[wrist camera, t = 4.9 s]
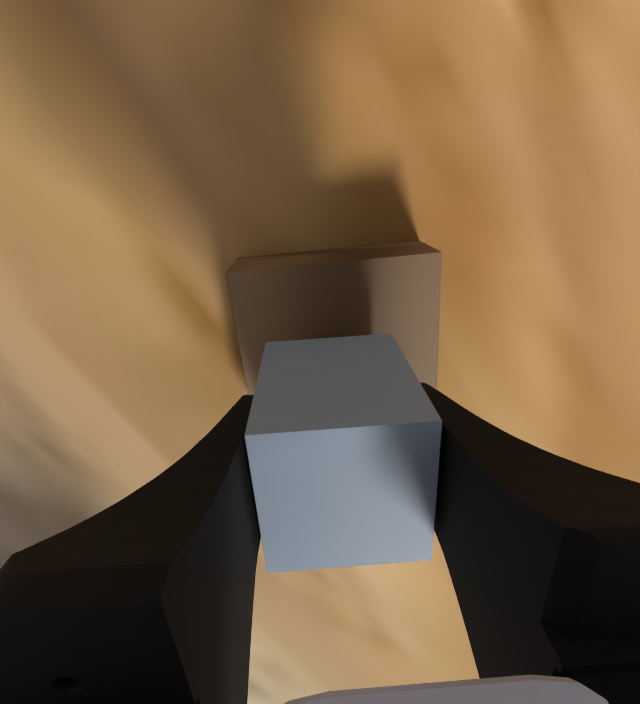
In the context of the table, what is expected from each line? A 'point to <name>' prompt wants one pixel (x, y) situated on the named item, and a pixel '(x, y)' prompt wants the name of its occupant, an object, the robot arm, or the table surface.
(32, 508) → the table surface
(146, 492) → the robot arm
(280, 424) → the blue block
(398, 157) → the table surface
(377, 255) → the walnut pedestal
